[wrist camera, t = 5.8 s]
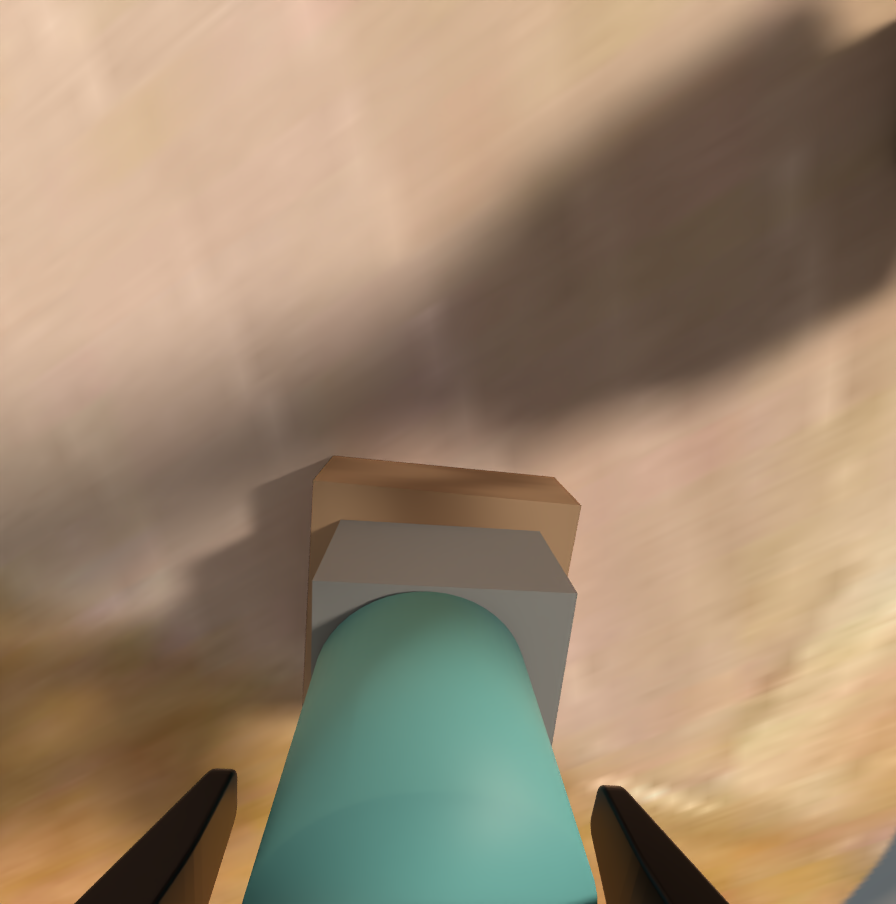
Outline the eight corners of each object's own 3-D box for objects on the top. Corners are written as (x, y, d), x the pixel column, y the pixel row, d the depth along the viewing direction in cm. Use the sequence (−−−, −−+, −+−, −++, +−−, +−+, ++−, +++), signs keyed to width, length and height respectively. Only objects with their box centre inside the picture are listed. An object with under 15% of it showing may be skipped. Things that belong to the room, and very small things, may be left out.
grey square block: (539, 531, 14) (577, 593, 10) (515, 696, 15) (542, 798, 12) (340, 519, 13) (312, 580, 10) (335, 690, 15) (309, 795, 11)
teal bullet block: (541, 598, 10) (630, 795, 6) (508, 770, 11) (563, 1037, 7) (317, 584, 10) (236, 786, 5) (309, 764, 11) (239, 1045, 7)
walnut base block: (550, 472, 17) (581, 505, 14) (518, 655, 19) (538, 724, 15) (336, 452, 16) (313, 480, 13) (325, 642, 18) (302, 710, 15)
